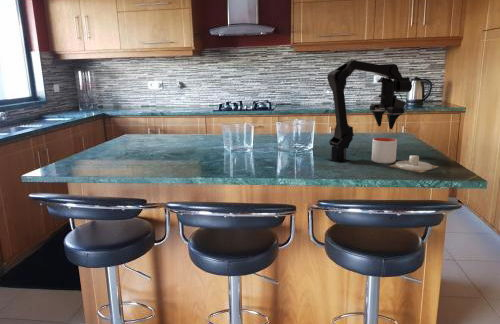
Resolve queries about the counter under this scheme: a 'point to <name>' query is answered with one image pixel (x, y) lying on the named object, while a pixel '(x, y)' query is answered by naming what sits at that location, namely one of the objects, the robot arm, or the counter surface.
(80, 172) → the counter surface
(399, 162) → the lid
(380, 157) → the cup
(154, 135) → the counter surface
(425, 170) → the trivet
